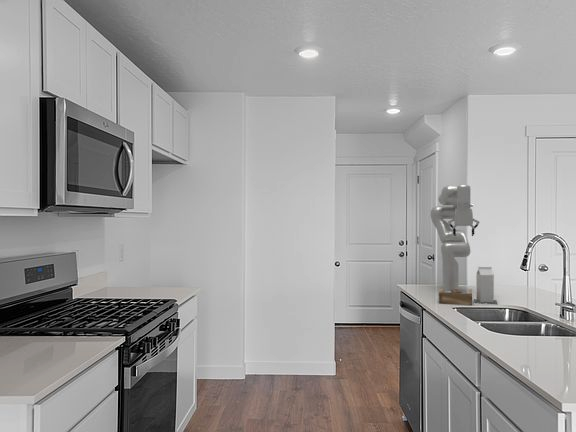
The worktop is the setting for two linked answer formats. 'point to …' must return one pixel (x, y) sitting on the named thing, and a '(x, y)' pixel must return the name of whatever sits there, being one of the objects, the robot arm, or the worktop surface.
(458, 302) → the rack
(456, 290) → the offcut upper
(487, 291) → the milk carton
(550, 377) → the worktop surface
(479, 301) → the mat
